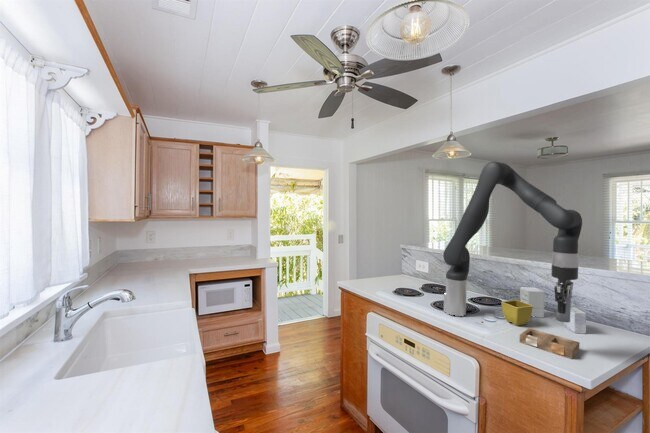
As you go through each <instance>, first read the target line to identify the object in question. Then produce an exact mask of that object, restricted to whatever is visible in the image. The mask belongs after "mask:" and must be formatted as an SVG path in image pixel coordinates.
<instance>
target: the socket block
mask: <svg viewBox="0 0 650 433" xmlns="http://www.w3.org/2000/svg"><path fill="white" fill-rule="evenodd" d="M519 343H520V344H524V345H527V346H530V347H533V348H537V349H539V350H542V351H546V352H548V353H551V352H552V354H554V355H555V354H556V355H558V356H562V357H565V358H567V359H570V360H572V359H573V358H575V356H576V355H577V354H578V352H580V342H579V341H575V340H572V339H569V338H566V337H562V336H559V335H555V334H551V333H548V332H544V331H541V330H538V329H534V328H530V327H528V328H527V329H526V330H524V331H523V332H521V333H520V334H519Z"/></svg>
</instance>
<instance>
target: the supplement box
mask: <svg viewBox="0 0 650 433" xmlns="http://www.w3.org/2000/svg"><path fill="white" fill-rule="evenodd" d="M545 294H546V292H545V291H544V290H542V289H540V288H537V287H535V286H534V287H533V286H532V287H530V286H529V287H528V286H527V287H524V286H521V287H520V294H519V295H520V296H519V297H520V298H519V299H520V300H519V301H520V302H523V303H526V304H529V305H532V306H533V309H532V314H531V316H537V317H536V318H545Z"/></svg>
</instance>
